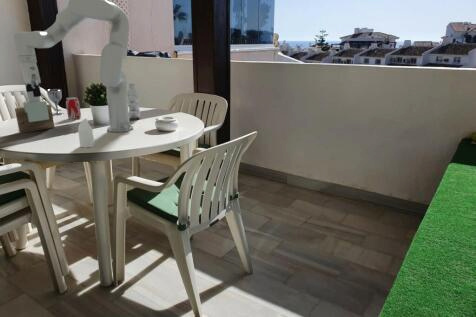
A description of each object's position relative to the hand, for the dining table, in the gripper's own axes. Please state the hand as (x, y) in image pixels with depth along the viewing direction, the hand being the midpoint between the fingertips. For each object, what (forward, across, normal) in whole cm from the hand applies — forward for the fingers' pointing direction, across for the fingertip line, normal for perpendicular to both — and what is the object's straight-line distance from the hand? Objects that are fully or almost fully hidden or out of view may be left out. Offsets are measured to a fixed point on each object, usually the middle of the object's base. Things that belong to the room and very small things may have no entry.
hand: (34, 95), depth 173 cm
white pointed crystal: (+18, -44, -5) cm, 48 cm away
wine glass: (+18, +40, -23) cm, 50 cm away
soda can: (+18, +19, -25) cm, 36 cm away
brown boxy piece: (+18, +6, 0) cm, 19 cm away
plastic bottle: (+18, -6, -50) cm, 53 cm away
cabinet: (+12, 0, 0) cm, 12 cm away
